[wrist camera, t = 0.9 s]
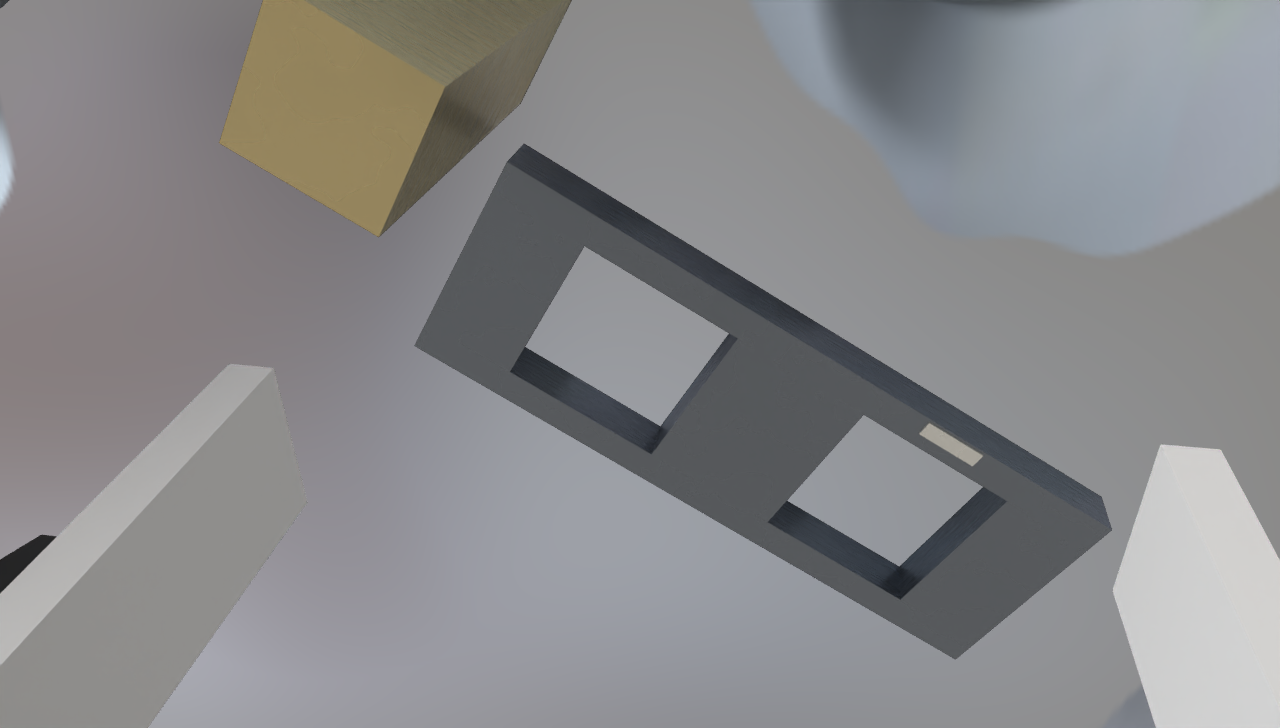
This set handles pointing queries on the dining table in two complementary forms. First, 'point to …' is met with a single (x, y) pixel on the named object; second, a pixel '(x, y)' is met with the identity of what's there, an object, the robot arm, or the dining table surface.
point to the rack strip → (755, 412)
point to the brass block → (381, 93)
